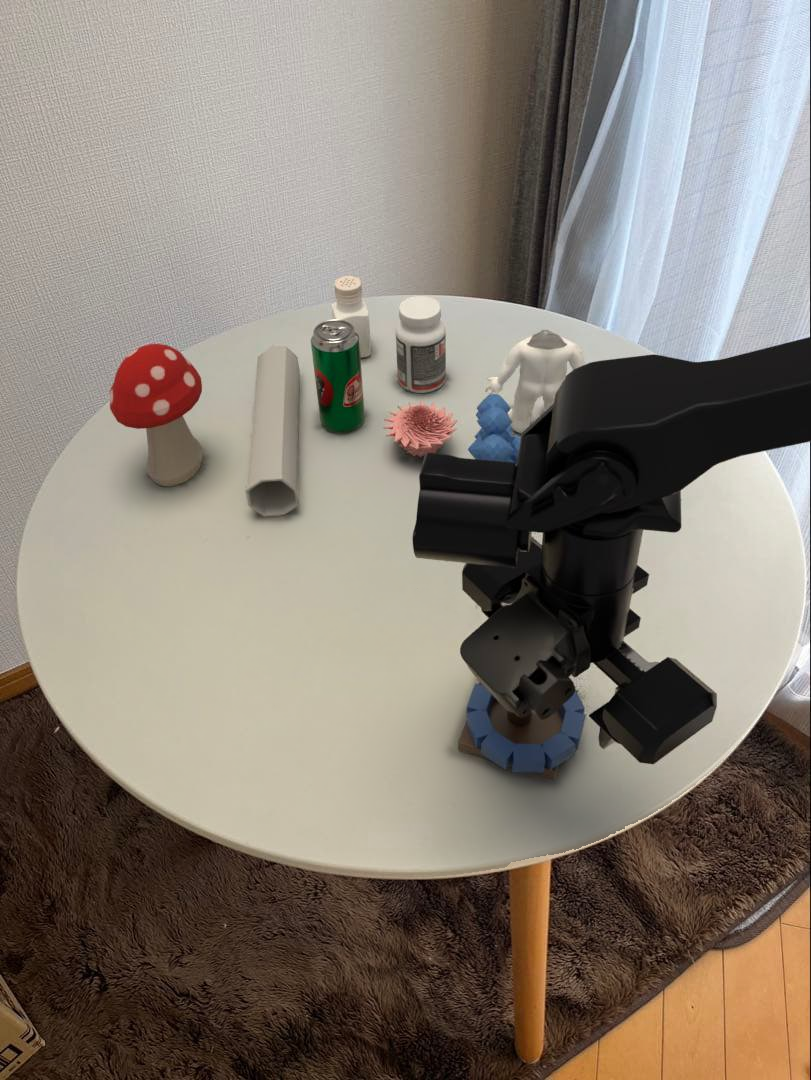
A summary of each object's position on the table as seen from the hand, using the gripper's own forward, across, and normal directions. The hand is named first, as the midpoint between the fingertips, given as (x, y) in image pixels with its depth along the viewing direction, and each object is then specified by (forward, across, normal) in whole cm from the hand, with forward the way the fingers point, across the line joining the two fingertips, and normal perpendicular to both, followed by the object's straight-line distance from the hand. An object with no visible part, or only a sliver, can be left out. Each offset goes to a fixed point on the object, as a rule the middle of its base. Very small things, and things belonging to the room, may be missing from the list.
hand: (570, 708), depth 65 cm
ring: (+7, -5, 0) cm, 8 cm away
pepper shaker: (+6, -58, +17) cm, 61 cm away
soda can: (+6, -47, +9) cm, 49 cm away
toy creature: (+7, -34, +26) cm, 43 cm away
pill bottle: (+7, -48, +21) cm, 53 cm away
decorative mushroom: (+6, -51, -10) cm, 53 cm away
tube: (+6, -49, +2) cm, 50 cm away
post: (+8, -5, 0) cm, 10 cm away
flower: (+7, -38, +13) cm, 41 cm away
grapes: (+8, -28, +16) cm, 33 cm away
